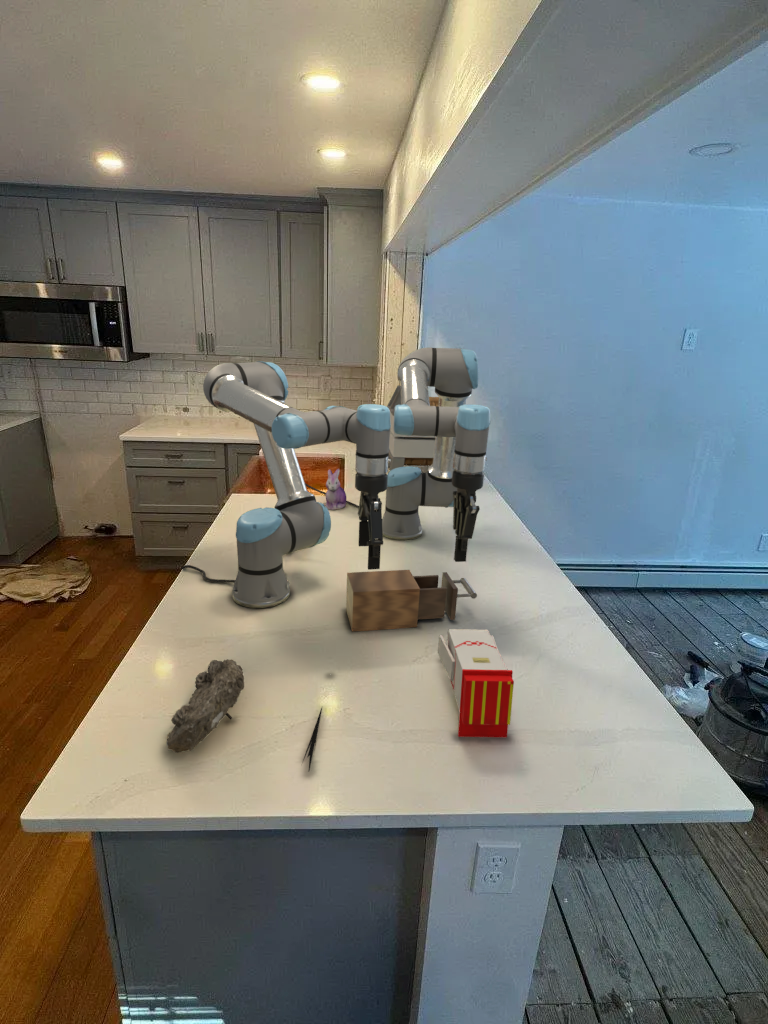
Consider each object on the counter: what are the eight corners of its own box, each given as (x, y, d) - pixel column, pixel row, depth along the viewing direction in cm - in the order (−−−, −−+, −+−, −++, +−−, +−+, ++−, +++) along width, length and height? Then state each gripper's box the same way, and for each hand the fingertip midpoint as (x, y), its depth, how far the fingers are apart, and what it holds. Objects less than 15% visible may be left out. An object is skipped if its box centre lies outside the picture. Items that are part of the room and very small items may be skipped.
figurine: (329, 511, 218) (329, 474, 213) (319, 503, 226) (319, 467, 221) (351, 508, 222) (352, 471, 217) (341, 500, 230) (342, 465, 225)
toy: (488, 613, 130) (523, 677, 101) (484, 667, 133) (517, 744, 104) (435, 612, 130) (455, 676, 101) (432, 666, 133) (451, 743, 103)
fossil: (192, 660, 117) (244, 628, 112) (224, 691, 120) (276, 661, 115) (142, 746, 98) (202, 712, 93) (182, 779, 101) (242, 748, 96)
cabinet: (407, 606, 152) (409, 569, 148) (417, 627, 142) (419, 588, 138) (346, 610, 148) (347, 572, 145) (352, 631, 139) (353, 592, 135)
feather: (331, 679, 122) (336, 673, 122) (307, 777, 96) (313, 769, 95) (324, 675, 122) (329, 669, 121) (298, 772, 95) (304, 764, 95)
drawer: (463, 600, 154) (466, 571, 151) (475, 618, 145) (478, 587, 142) (388, 605, 150) (390, 574, 147) (396, 623, 141) (398, 592, 138)
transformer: (382, 463, 289) (386, 382, 275) (445, 464, 293) (451, 384, 279) (390, 482, 257) (394, 392, 243) (460, 483, 261) (468, 394, 247)
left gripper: (399, 488, 120) (394, 578, 128) (377, 459, 143) (374, 536, 151) (364, 489, 119) (361, 580, 126) (348, 459, 142) (346, 537, 149)
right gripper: (493, 478, 131) (482, 570, 139) (473, 463, 143) (465, 549, 151) (462, 478, 129) (453, 572, 137) (445, 463, 141) (438, 550, 149)
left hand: (368, 556), depth 138 cm, fingers open, 13 cm apart
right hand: (459, 560), depth 144 cm, fingers closed
